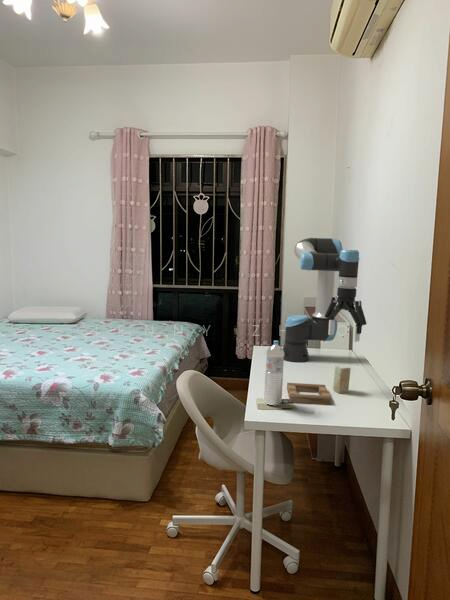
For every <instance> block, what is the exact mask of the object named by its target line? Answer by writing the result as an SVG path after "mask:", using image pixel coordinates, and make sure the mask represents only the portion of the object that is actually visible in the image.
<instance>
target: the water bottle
mask: <svg viewBox="0 0 450 600" xmlns="http://www.w3.org/2000/svg"><path fill="white" fill-rule="evenodd" d="M265 353H266V361H265V362H266V363H265V364H266V365H265V375H264V377H265V378H264V392H263V393H264V396H263V402H264V404H265V403H266V404H265V405H267V404H269V405H274V406H273V407H278V406H281V404H282V398H283V385H284V384H283V383H284V382H283V381H284V364H285V363H284V362H285V360H284V350H283V347H281V345H279V340H273V344H272V345H270V346H269V347H268V348H267V349H266V352H265ZM269 405H268V406H269ZM277 405H278V406H277Z"/></svg>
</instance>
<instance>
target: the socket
mask: <svg viewBox="0 0 450 600" xmlns="http://www.w3.org/2000/svg"><path fill="white" fill-rule="evenodd" d="M286 391H287V395H288V399H289V402H290V403H295V404H298V403H299V404H314V405H315V404H316V405H327V406H328V405H330V406H331V405H332V400H333V399H332V396H331V394H330V392H329V390H328V389H327V386H326V384H320V383H319V384H317V383H303V382H302V383H300V382H287V383H286ZM298 392H303V393H298ZM304 392H307V393H317V394H304Z"/></svg>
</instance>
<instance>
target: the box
mask: <svg viewBox="0 0 450 600" xmlns="http://www.w3.org/2000/svg"><path fill="white" fill-rule="evenodd" d="M333 376H334V377H333V387H332V390H333V391H334V392H335V393H338V394H346V393H349V390H350V389H349V388H350V387H349V386H350V380H351V379H350V377H351V367H350V366H348V365H346V364H340V365H335V367H334V375H333Z"/></svg>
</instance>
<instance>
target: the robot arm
mask: <svg viewBox="0 0 450 600" xmlns="http://www.w3.org/2000/svg"><path fill="white" fill-rule="evenodd" d="M294 254H295V256H296V258H297V259H299V268H300V270H303V271H317V280H316V281H317V283H316V286H317V287H316V299H315V309H314V310H315V311H314V313H312V315H311V317H309V316H308V315H306V314H294V315H289V316H288V317H287V318H286V320H285V325H284V326H285V333H284V343H283V346H282V349H283V350H284V361H287V362H293V363H297V362H298V363H304V362H308V361H309V360H310V359H309V358H310V354H309V350H308V346H307V341H319V342H320V341H322V342H332V341H333V340H334V339H335V337H336V335H337V330H338V320H337V319H336V318H335V317H336V316H337V315H338V314H339V313H340V311H342V310H344V311H347V312H348V313H349V314H350V315H351V317H352V319H353V322H354V323H355V325H354V327H353V329H354V330H353V339H352V340H353V342H355V343H357V342H360V339H361V338H360V337H361V334H362V329H363V326H366V325H367V320H366V316H365V314H364V310H363V307H362V306H363V305H362V301H361V300H356V297H357V287H358V275H359V261H360V252H359V250H358V249H357V250H356V249H343V244H342V241H340V239H338V238H327V237H326V238H325V237H324V238H323V237H322V238H321V237H307V238H304V239H302V240H299V241H298V242H297V243H296V245H295V246H294ZM336 272H338V277H337V278H338V280H337V282H338V283H337V286H338V287H337V292H336V295H337V296H334V291H335V290H334V287H335V277H336V276H335V275H336Z"/></svg>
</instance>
